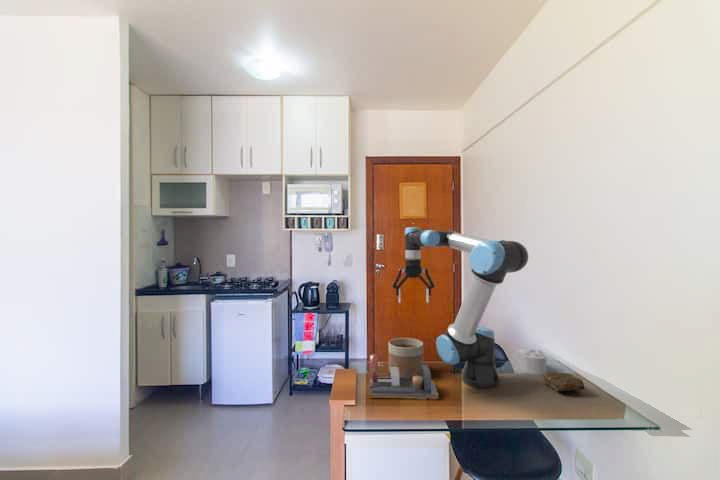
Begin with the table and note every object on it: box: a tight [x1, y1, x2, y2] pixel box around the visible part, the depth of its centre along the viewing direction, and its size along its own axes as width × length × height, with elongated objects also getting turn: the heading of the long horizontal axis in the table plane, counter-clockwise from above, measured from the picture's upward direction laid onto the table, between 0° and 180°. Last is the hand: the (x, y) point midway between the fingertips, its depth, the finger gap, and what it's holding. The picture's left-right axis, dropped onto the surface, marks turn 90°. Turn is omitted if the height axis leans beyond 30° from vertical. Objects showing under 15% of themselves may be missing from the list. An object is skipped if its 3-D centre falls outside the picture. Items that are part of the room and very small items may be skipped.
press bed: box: [369, 364, 440, 399], centre depth 133 cm, size 26×13×9 cm, turn 87°
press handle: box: [369, 353, 400, 388], centre depth 133 cm, size 12×8×12 cm
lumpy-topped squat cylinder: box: [516, 347, 547, 375], centre depth 155 cm, size 10×13×9 cm
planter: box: [388, 337, 424, 379], centre depth 153 cm, size 16×16×14 cm
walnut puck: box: [412, 376, 423, 389], centre depth 132 cm, size 4×4×4 cm
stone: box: [542, 371, 586, 392], centre depth 134 cm, size 10×14×6 cm
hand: (413, 302), depth 161 cm, fingers open, 13 cm apart
